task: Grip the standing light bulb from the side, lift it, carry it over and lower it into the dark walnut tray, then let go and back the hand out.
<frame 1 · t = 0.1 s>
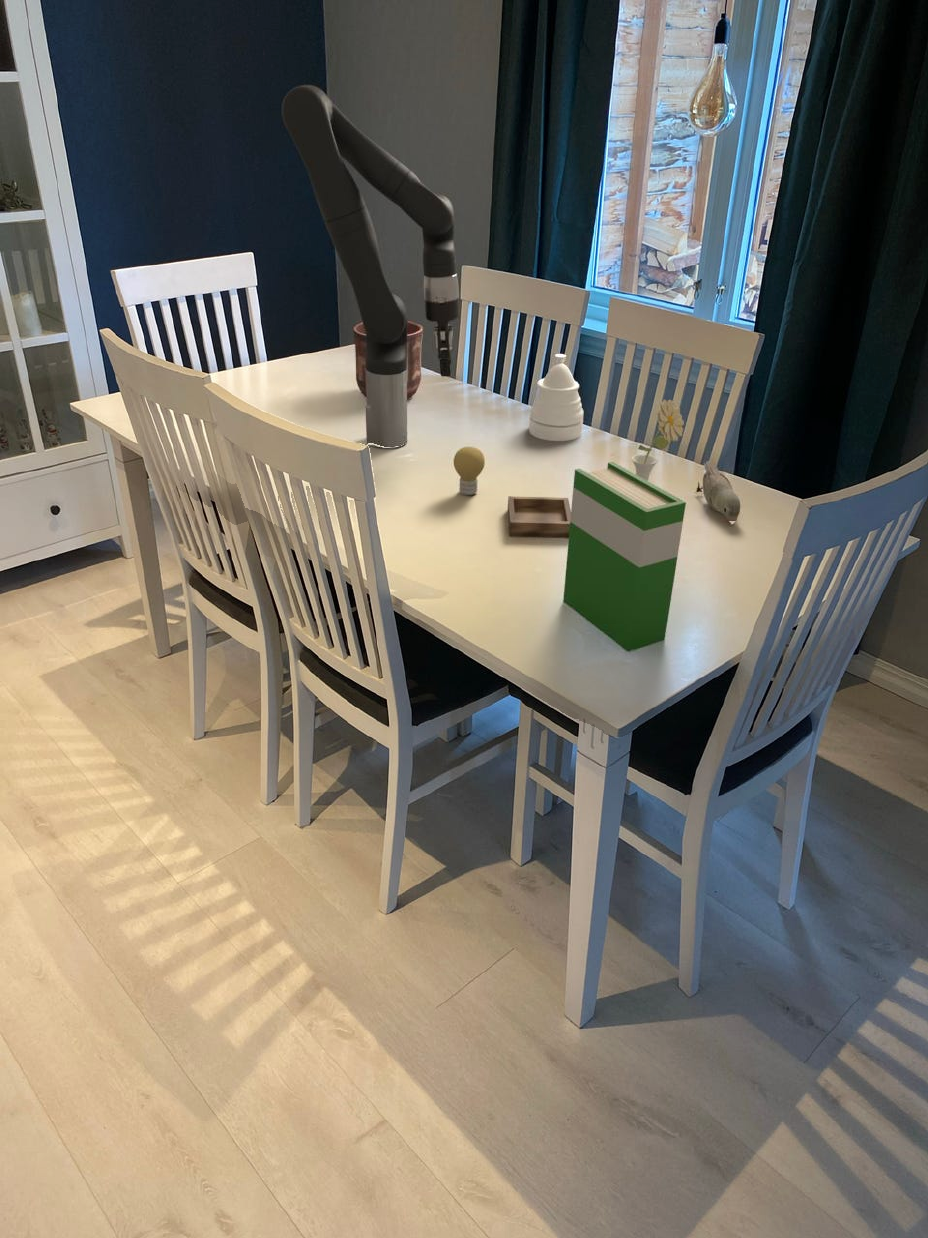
hand: (446, 370, 217), 17 cm above the table, tool pointing down, fingers open, 8 cm apart
hardback book: (612, 621, 159), on the table
pottery: (389, 397, 254), on the table
light bulb: (468, 493, 202), on the table
walnut tray: (539, 523, 190), on the table
decorative bird: (717, 510, 198), on the table
honey pot: (555, 432, 235), on the table
flower in vase: (639, 525, 191), on the table
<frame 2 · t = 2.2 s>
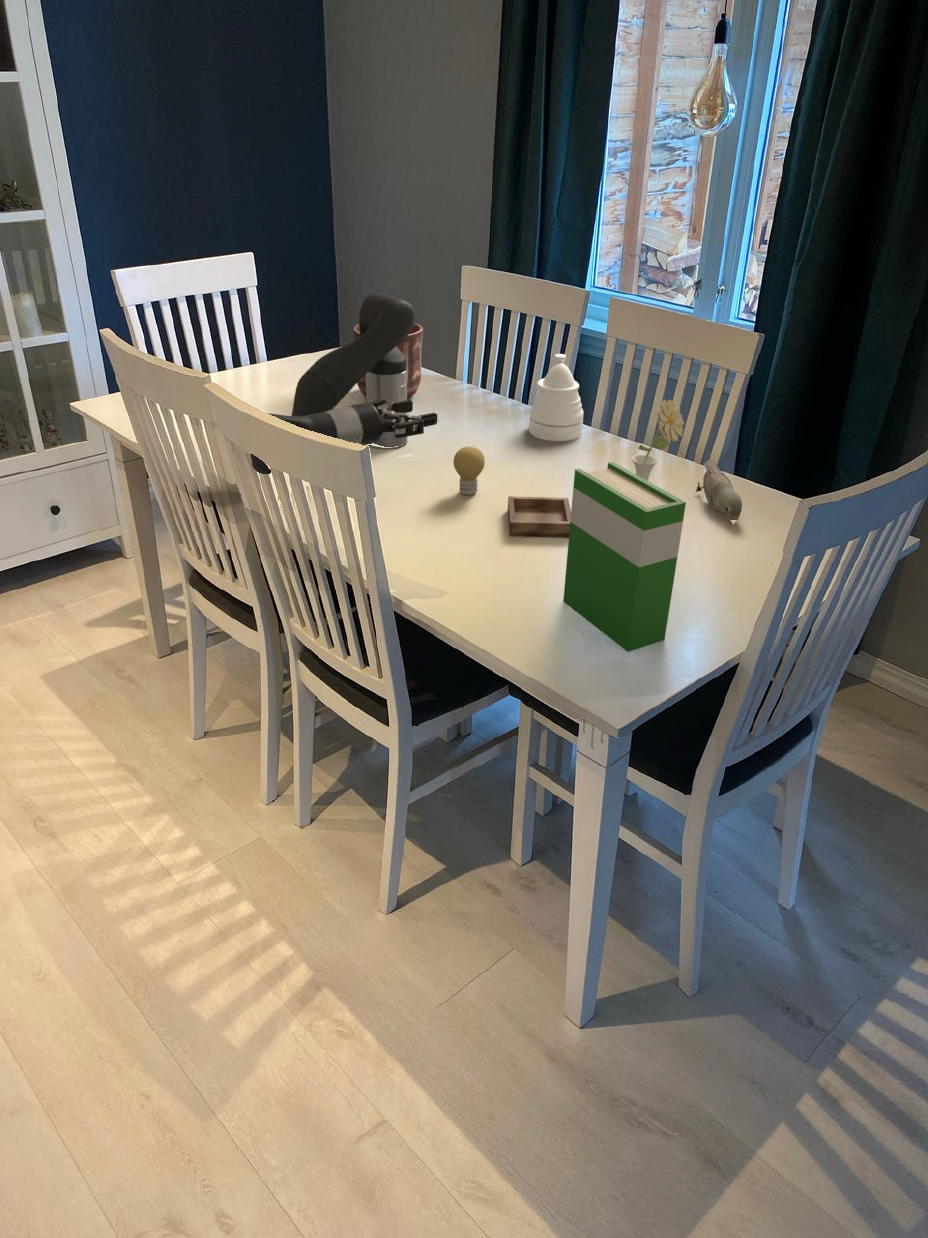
hand: (423, 411, 186), 20 cm above the table, tool horizontal, fingers open, 8 cm apart
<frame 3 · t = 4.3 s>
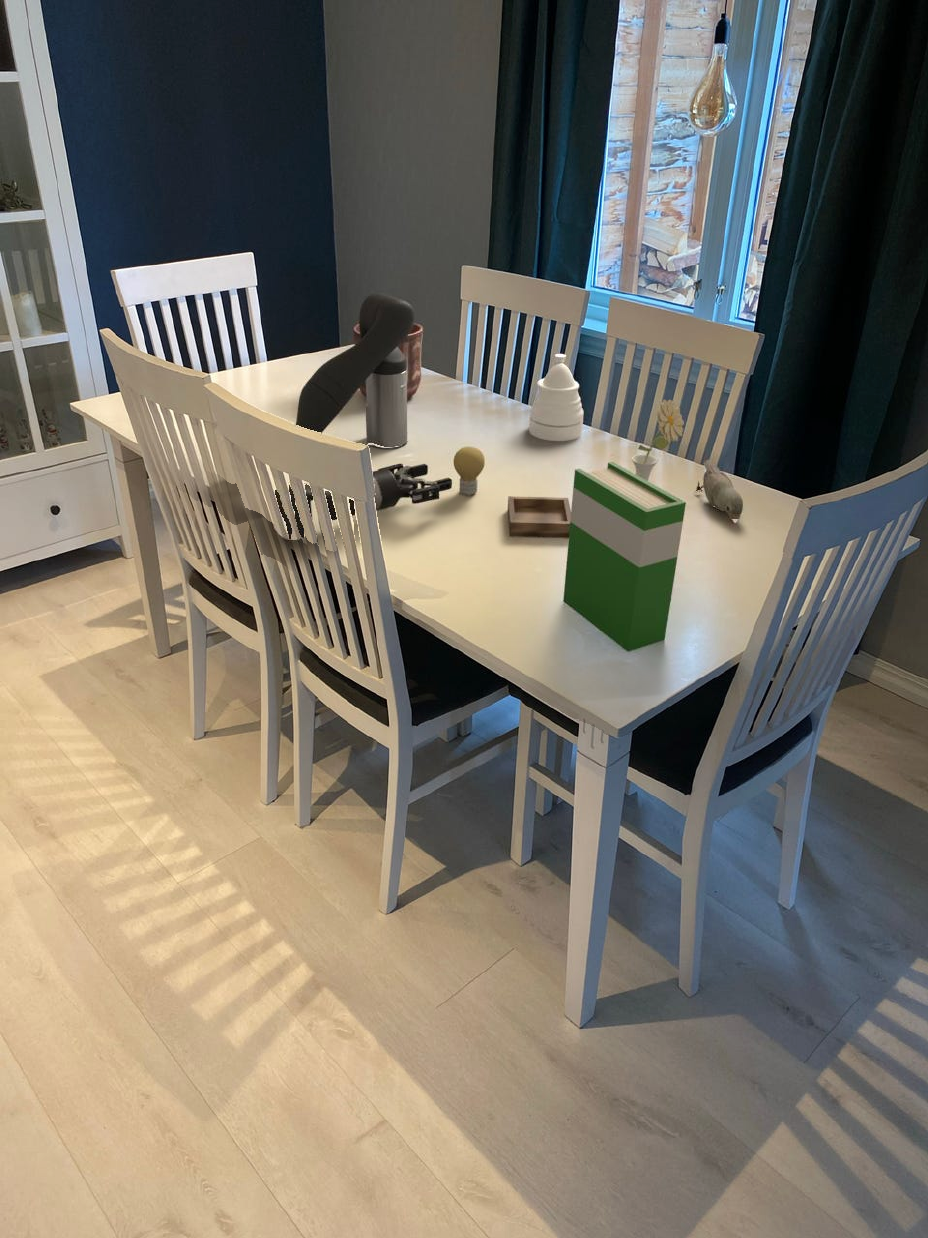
hand: (438, 475, 195), 6 cm above the table, tool horizontal, fingers open, 8 cm apart
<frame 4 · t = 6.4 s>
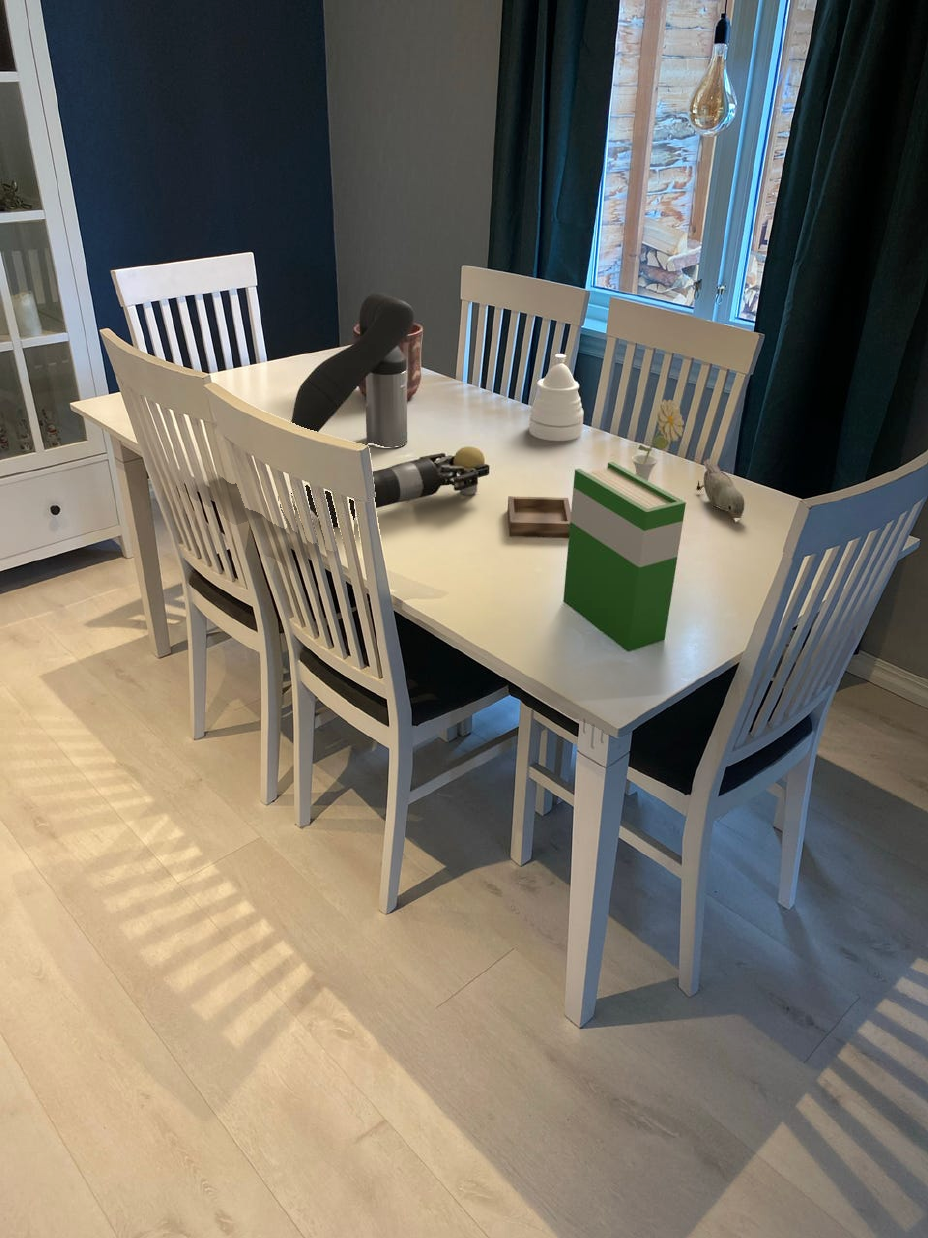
hand: (478, 463, 200), 6 cm above the table, tool horizontal, fingers closed on light bulb, 6 cm apart
light bulb: (468, 493, 202), on the table, touching gripper
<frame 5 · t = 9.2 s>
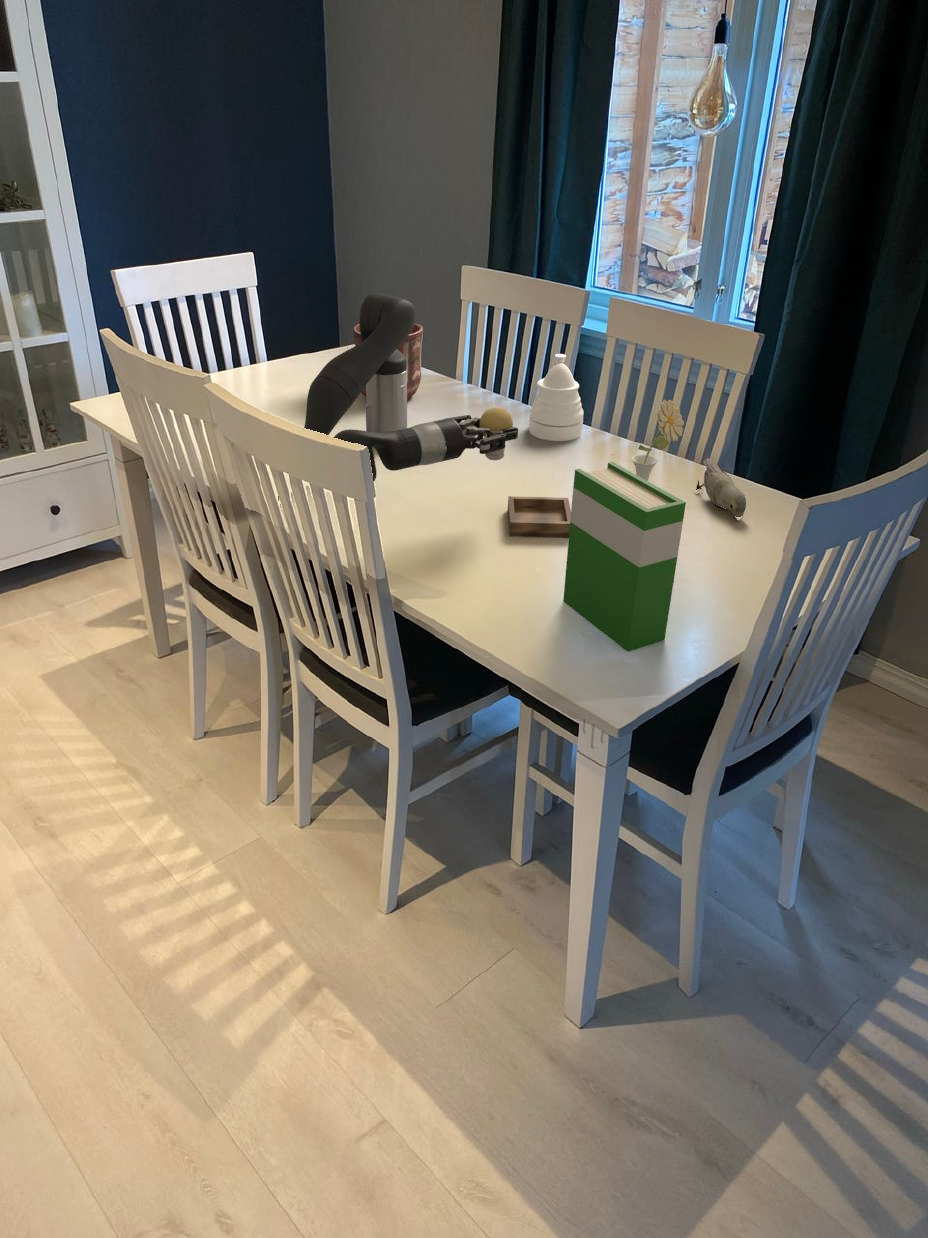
hand: (506, 426, 187), 17 cm above the table, tool horizontal, fingers closed on light bulb, 6 cm apart
light bulb: (494, 459, 189), point 11 cm above the table, touching gripper
when the fingers open (8 cm above the table, at t = 12.2 s): light bulb drops 1 cm, resting on walnut tray.
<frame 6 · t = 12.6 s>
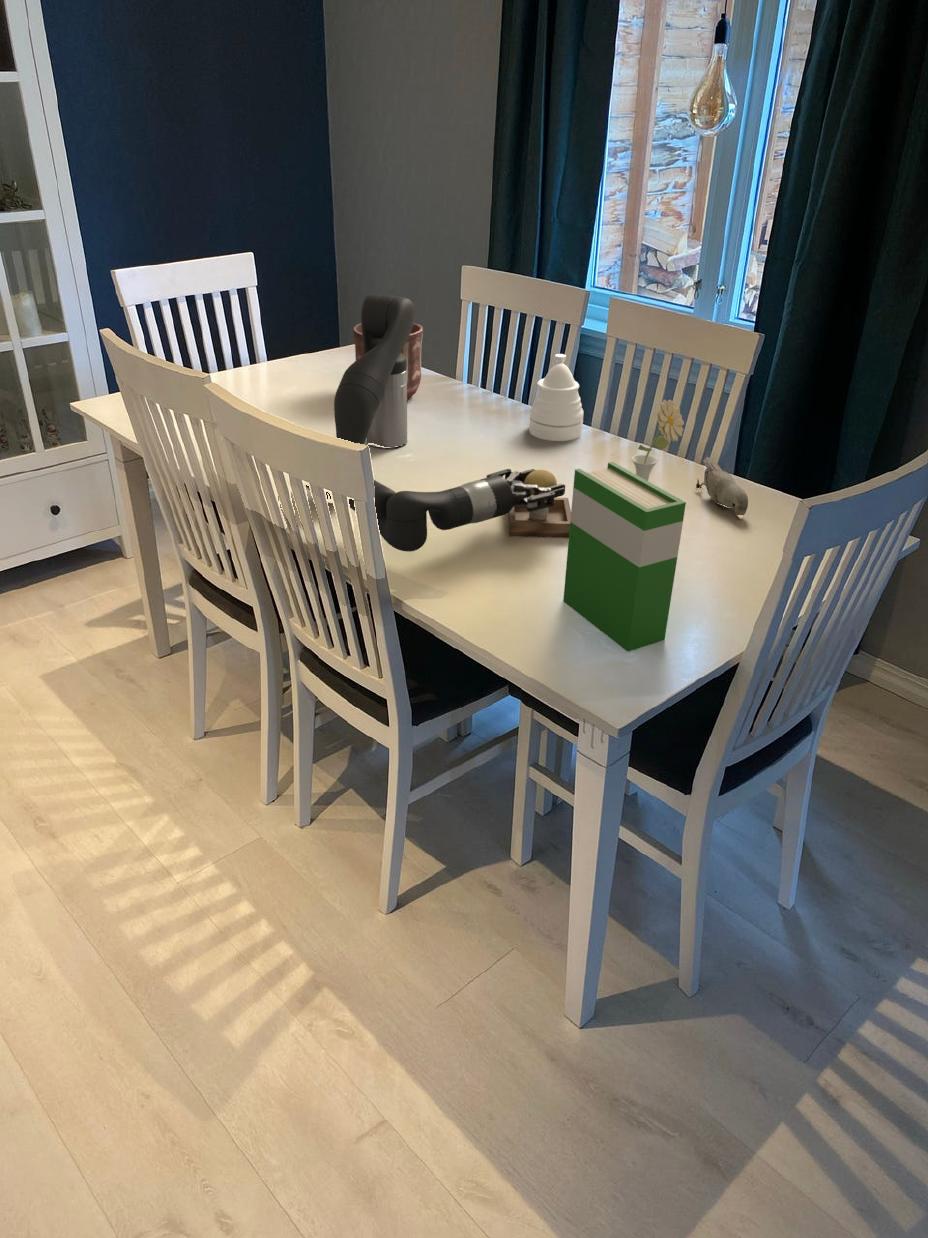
hand: (549, 481, 187), 8 cm above the table, tool horizontal, fingers open, 8 cm apart
light bulb: (538, 519, 190), point 1 cm above the table, touching walnut tray
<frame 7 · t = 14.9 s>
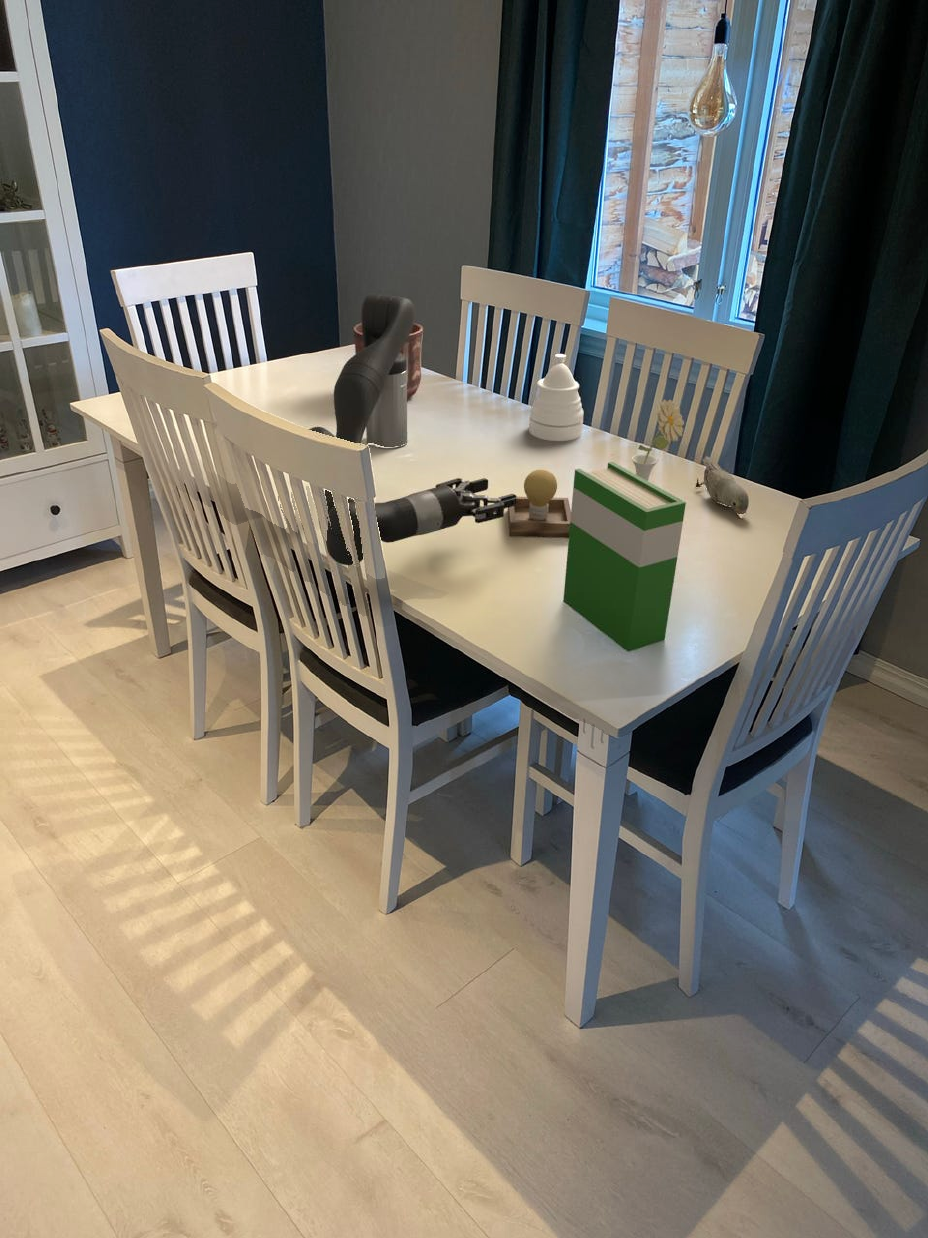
hand: (500, 491, 180), 9 cm above the table, tool horizontal, fingers open, 8 cm apart
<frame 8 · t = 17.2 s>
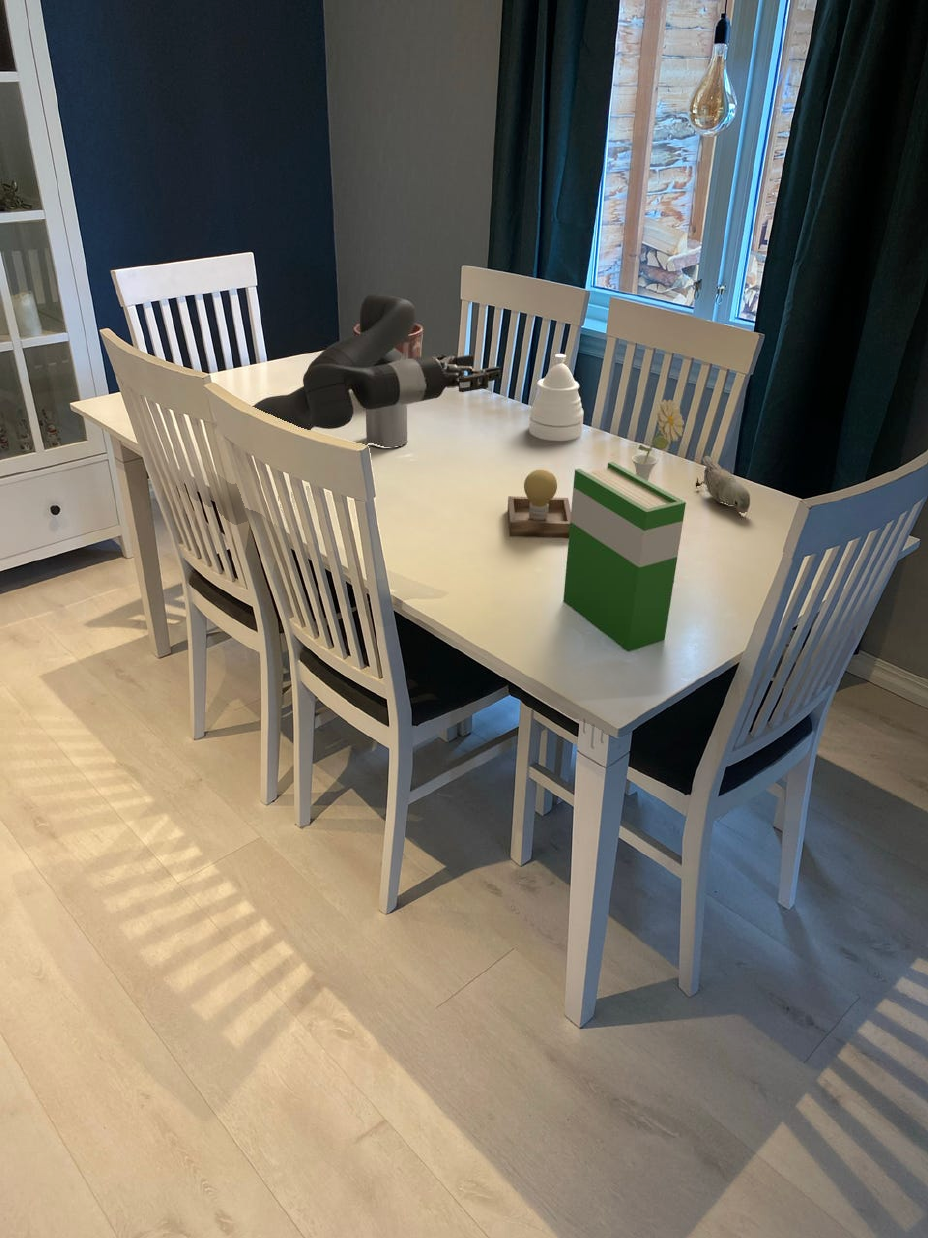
hand: (486, 366, 177), 30 cm above the table, tool horizontal, fingers open, 8 cm apart
at the end: light bulb 0.3 cm off-centre on the walnut tray, point 0.8 cm above the walnut tray's base; light bulb tilted 0°; the gripper is holding nothing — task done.
